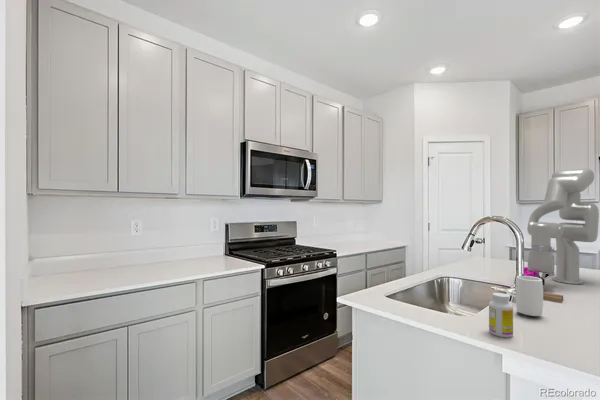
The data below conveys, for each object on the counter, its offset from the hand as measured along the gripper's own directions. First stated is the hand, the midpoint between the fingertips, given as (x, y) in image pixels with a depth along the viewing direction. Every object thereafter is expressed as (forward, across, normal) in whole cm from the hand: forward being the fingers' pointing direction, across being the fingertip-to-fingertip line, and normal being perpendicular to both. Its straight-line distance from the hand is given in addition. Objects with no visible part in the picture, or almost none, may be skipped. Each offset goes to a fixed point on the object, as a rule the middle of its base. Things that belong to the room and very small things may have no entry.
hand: (540, 286), depth 155 cm
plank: (+2, 0, +15) cm, 15 cm away
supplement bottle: (+2, +1, +73) cm, 73 cm away
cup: (+2, -2, +46) cm, 46 cm away
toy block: (+1, +5, 0) cm, 5 cm away
